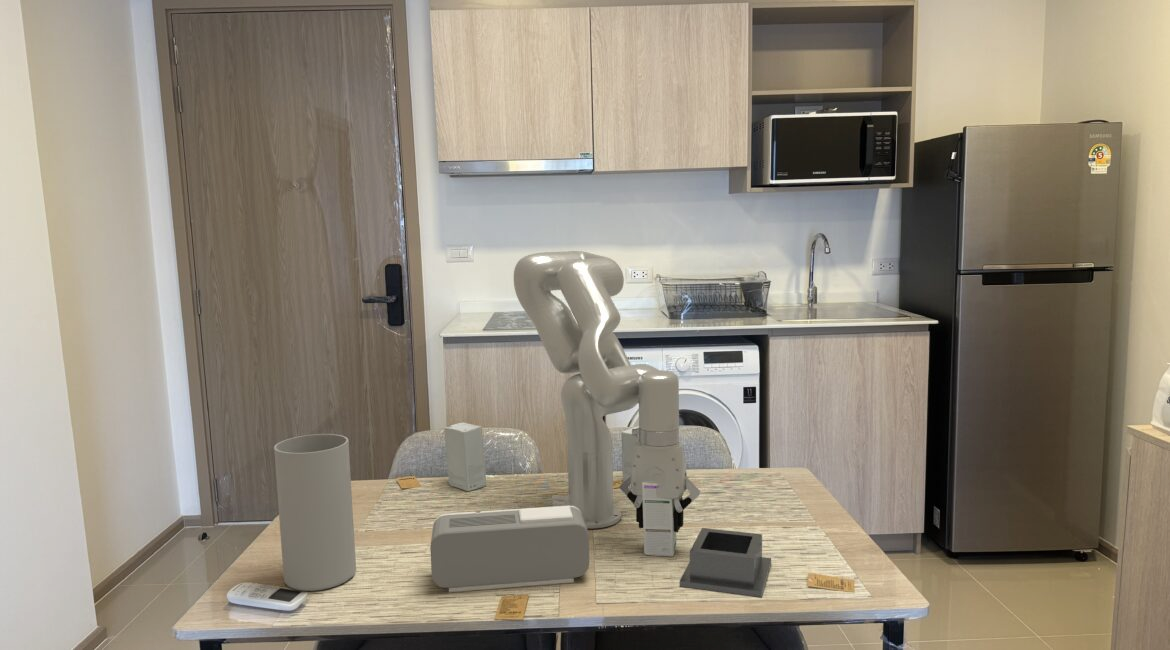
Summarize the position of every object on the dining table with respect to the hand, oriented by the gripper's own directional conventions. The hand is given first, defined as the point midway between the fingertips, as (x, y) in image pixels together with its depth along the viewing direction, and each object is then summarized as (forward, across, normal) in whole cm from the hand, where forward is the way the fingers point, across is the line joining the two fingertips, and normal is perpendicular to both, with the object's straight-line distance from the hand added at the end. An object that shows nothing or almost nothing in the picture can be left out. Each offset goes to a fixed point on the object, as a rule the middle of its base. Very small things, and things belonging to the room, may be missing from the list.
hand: (659, 526), depth 155 cm
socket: (+5, +14, -7) cm, 16 cm away
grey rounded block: (+5, -23, -19) cm, 30 cm away
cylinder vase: (+5, -56, -29) cm, 63 cm away
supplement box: (+5, -14, +39) cm, 42 cm away
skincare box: (+5, -54, +24) cm, 59 cm away
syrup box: (+5, 0, 0) cm, 5 cm away
